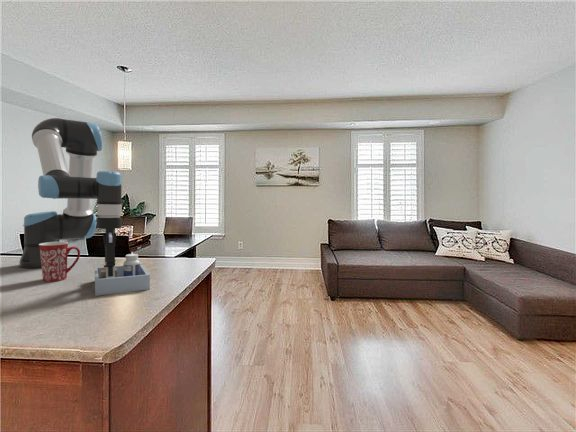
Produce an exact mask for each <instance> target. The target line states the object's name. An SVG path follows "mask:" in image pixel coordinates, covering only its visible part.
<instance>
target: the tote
mask: <svg viewBox="0 0 576 432" xmlns="http://www.w3.org/2000/svg"><path fill="white" fill-rule="evenodd" d="M115 268H117V271H118V277H114V278H103V279H101V269H105V267H104V266H97V267H94V295H95V296H102V295H111V294H112V295H114V294H120V293H123V294H124V293H129V292H130V293H131V292H140V291H147V290H148V291H149V290H150V289H151V288H150V287H151V284H150V280H151V279H150V278H151V276H150V273H149V272H148V270H147V269H146V268H145V266H144V265H143V264H142V263H140V275H136V276H125V277H124V267H123V265H115Z"/></svg>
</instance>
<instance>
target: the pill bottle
mask: <svg viewBox="0 0 576 432" xmlns="http://www.w3.org/2000/svg"><path fill="white" fill-rule="evenodd" d="M138 259H139V255H138V253H128V254H126V255H125V261H124V262H123V265H122V266H123V267H124V277H125V276H136V275H140V264H141V261H140V260H138Z"/></svg>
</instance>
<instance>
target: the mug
mask: <svg viewBox="0 0 576 432" xmlns="http://www.w3.org/2000/svg"><path fill="white" fill-rule="evenodd" d="M68 245H69V242H68V241H57V242H47V243H41V244H39V247H40V256H41V266H42V267H41V273H42V274H41V275H42V281H43V282H47V283H48V282H49V283H50V282H58V281H59V282H60V281H63V280H66V279H67V278H68V273H69V272H70V271H71V270H72V269H73V268H74V267H75V265H76V264H77V262H79V259H80V257H81V250H80V249H79V247H78V246H68ZM71 250H76V251H77V256H76V259H75V260H74V261H73V263H72V264H71V265H70V266H69V267H68V255H69V254H70V252H71Z"/></svg>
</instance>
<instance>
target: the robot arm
mask: <svg viewBox="0 0 576 432" xmlns="http://www.w3.org/2000/svg"><path fill="white" fill-rule="evenodd" d="M100 129H101V128H100V127H99V126H98V124H96V123H91V122H87V121H81V120H73V119H64V118H59V117H52V118H47V119H45V120H42V121H40V122H39V123H38V124H36V125H35V127H34V128H33V129H32V133H31V140H32V144H33V145H34V147H36V148H37V153H38V156H39V161H40V166H41V169H42V175H39V177H38V181H37V182H38V183H37V189H38V195H39V197H41V198H42V199H45V198H46V199H53V200H54V199H55V200H56V199H67V203H66V204H67V205H66V207H65V208H64V209H63V210H62V214H58V213H57V211H54V210H53V211H52V210H51V211H41V212H34V213H33V212H32V213H28V214H26V215H25V216H24V218H23V224H22V225H23V234H24V235H23V236H24V237H23V239H24V241H23V246H24V248H23V251H22V254H21V257H20V259H19V262H18V263H19V267H20V268H23V269H24V268H25V269H38V268H41V269H42V266H41V256H40V247H39V244H41V243H47V242H58V241H63V240H65V241H66V240H83V239H90V238H92V237H93V236H94V235H95V232H96V229H97V228H98V229H100V230H101V229H102V230H105V232H103V233H102V238H103V239H102V240H103V246H104V262H105V263H104V265H103V267H105V269H106V278H114V277H115V266H116V245H117V243H116V239H117V233H116V232H114V231H115V230H114V229H121V228H122V225H123V224H122V221H123V220H122V219H123V218H122V217H121V216H122V215H123V209H122V207H123V205H122V204H123V203H122V187H123V186H122V184H123V181H122V175H121V173H120V172H119V171H111V170H110V171H108V170H107V171H105V170H100V171H97V173H96V177H92V174H93V173H92V170H93V159H94V158H95V157H97V155H98V152H101V151H102V149H103V136H102V132H101V130H100ZM63 148H64V149H65V153H66V154H68V155H69V163H68V164H69V165H68V164H67V162H66V159H65V154H64V152H63ZM92 199H93V200H96V206H95V207H94V210H97V211H96V214H95V213H94V212H93V211H94V210H92V209H91V207H90V203H91V202H90V201H91V200H92ZM97 216H98V217H97Z"/></svg>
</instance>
